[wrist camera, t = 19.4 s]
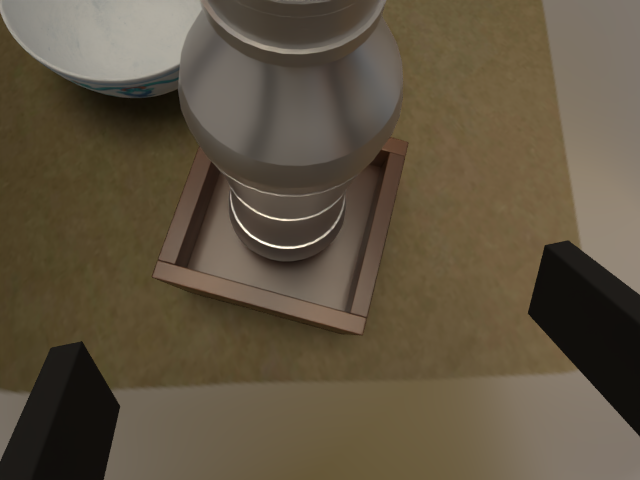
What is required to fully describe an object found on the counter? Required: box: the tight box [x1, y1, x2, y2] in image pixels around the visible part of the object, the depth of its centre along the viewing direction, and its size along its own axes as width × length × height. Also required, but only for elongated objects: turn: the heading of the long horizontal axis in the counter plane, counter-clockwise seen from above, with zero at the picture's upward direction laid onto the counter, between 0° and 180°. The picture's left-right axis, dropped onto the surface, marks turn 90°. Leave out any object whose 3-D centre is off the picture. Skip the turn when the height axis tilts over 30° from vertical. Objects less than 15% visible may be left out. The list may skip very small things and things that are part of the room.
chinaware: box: [0, 0, 202, 98], centre depth 31 cm, size 15×15×8 cm
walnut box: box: [152, 137, 408, 335], centre depth 28 cm, size 12×12×8 cm
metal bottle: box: [178, 0, 403, 261], centre depth 17 cm, size 6×7×20 cm
